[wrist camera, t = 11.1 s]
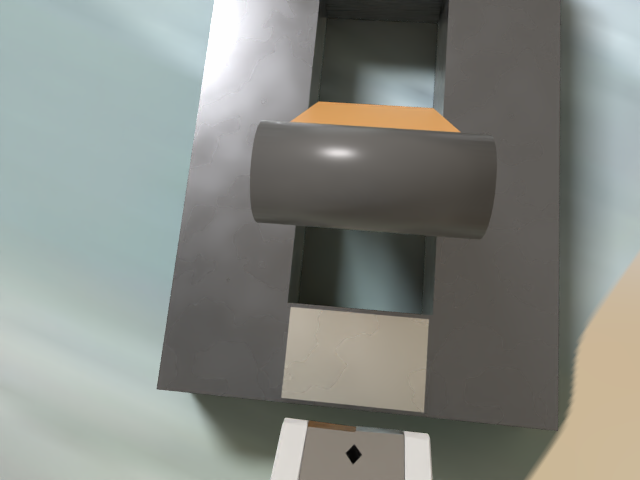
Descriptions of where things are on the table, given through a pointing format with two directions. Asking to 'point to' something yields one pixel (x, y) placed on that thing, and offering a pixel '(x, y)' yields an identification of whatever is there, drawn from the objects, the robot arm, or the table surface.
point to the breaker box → (440, 252)
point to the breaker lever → (373, 172)
